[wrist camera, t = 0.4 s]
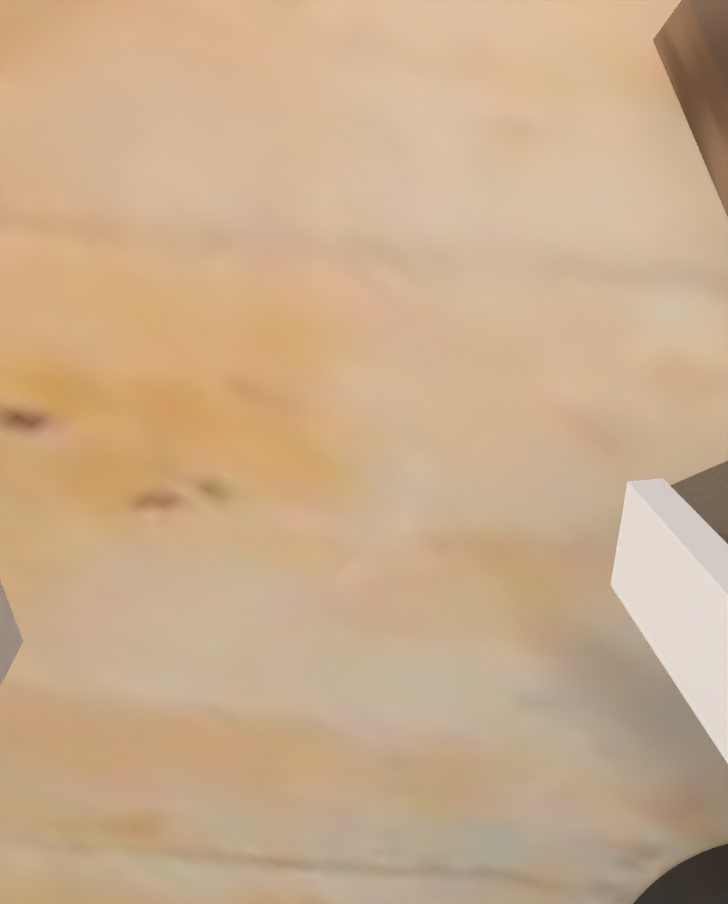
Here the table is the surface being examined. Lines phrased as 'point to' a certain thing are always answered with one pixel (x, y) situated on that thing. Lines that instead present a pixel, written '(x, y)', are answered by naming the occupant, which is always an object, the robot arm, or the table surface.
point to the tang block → (701, 78)
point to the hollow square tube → (708, 497)
